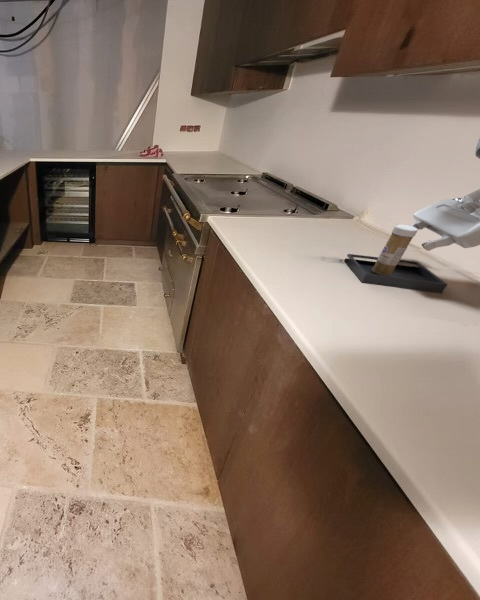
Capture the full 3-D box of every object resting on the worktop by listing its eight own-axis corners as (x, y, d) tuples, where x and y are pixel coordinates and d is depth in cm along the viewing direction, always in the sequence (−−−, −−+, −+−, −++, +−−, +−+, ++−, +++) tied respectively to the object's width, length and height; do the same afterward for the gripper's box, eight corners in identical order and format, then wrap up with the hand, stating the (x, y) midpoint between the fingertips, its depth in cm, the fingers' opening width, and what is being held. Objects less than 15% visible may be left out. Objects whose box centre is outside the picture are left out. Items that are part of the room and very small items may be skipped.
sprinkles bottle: (366, 269, 92) (390, 223, 85) (382, 269, 92) (408, 224, 85) (379, 276, 88) (405, 229, 81) (395, 276, 88) (423, 229, 81)
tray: (413, 269, 93) (418, 261, 92) (441, 293, 82) (447, 284, 80) (344, 261, 98) (347, 253, 97) (362, 282, 86) (366, 274, 85)
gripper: (450, 187, 84) (387, 220, 92) (515, 208, 67) (431, 246, 75) (461, 205, 85) (398, 236, 93) (526, 230, 69) (443, 265, 76)
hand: (413, 241), depth 84 cm, fingers open, 8 cm apart
